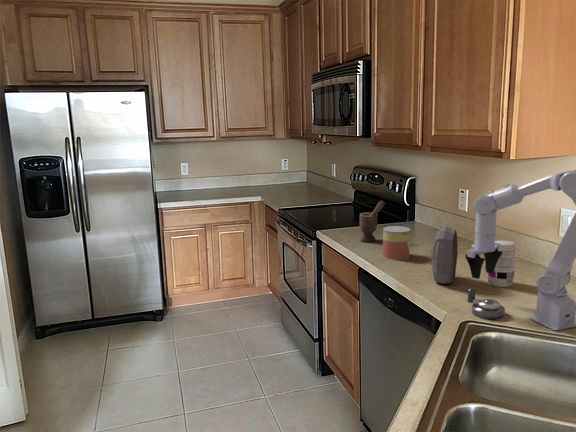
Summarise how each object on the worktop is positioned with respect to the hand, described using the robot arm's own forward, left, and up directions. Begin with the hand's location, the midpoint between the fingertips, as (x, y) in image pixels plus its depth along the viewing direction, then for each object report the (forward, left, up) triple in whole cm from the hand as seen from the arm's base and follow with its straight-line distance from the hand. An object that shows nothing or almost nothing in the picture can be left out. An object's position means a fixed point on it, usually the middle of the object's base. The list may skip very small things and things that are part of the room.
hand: (482, 275), depth 148 cm
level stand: (-7, +4, -9) cm, 12 cm away
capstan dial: (-5, +4, -7) cm, 10 cm away
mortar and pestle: (+83, -6, -10) cm, 84 cm away
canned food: (+56, -3, -10) cm, 57 cm away
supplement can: (+12, -18, -10) cm, 24 cm away
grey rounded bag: (+23, -2, -10) cm, 25 cm away
